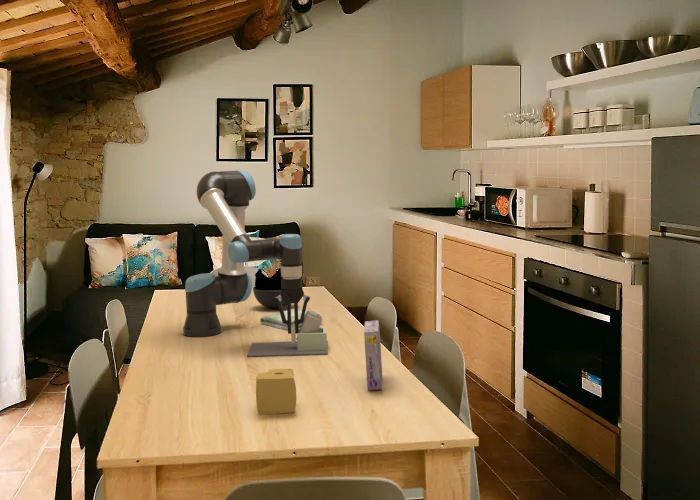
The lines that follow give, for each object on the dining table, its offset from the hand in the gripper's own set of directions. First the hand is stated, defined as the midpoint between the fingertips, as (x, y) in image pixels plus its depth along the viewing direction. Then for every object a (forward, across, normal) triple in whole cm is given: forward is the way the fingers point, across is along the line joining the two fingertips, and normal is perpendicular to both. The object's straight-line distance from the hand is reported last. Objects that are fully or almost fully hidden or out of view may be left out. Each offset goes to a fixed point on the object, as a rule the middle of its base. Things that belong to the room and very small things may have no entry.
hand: (293, 342), depth 287 cm
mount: (+3, +2, 0) cm, 3 cm away
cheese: (+3, +2, +70) cm, 70 cm away
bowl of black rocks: (+3, +12, -83) cm, 84 cm away
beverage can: (+1, -4, 0) cm, 4 cm away
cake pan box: (+3, -26, +47) cm, 54 cm away
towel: (+3, +3, -46) cm, 46 cm away
